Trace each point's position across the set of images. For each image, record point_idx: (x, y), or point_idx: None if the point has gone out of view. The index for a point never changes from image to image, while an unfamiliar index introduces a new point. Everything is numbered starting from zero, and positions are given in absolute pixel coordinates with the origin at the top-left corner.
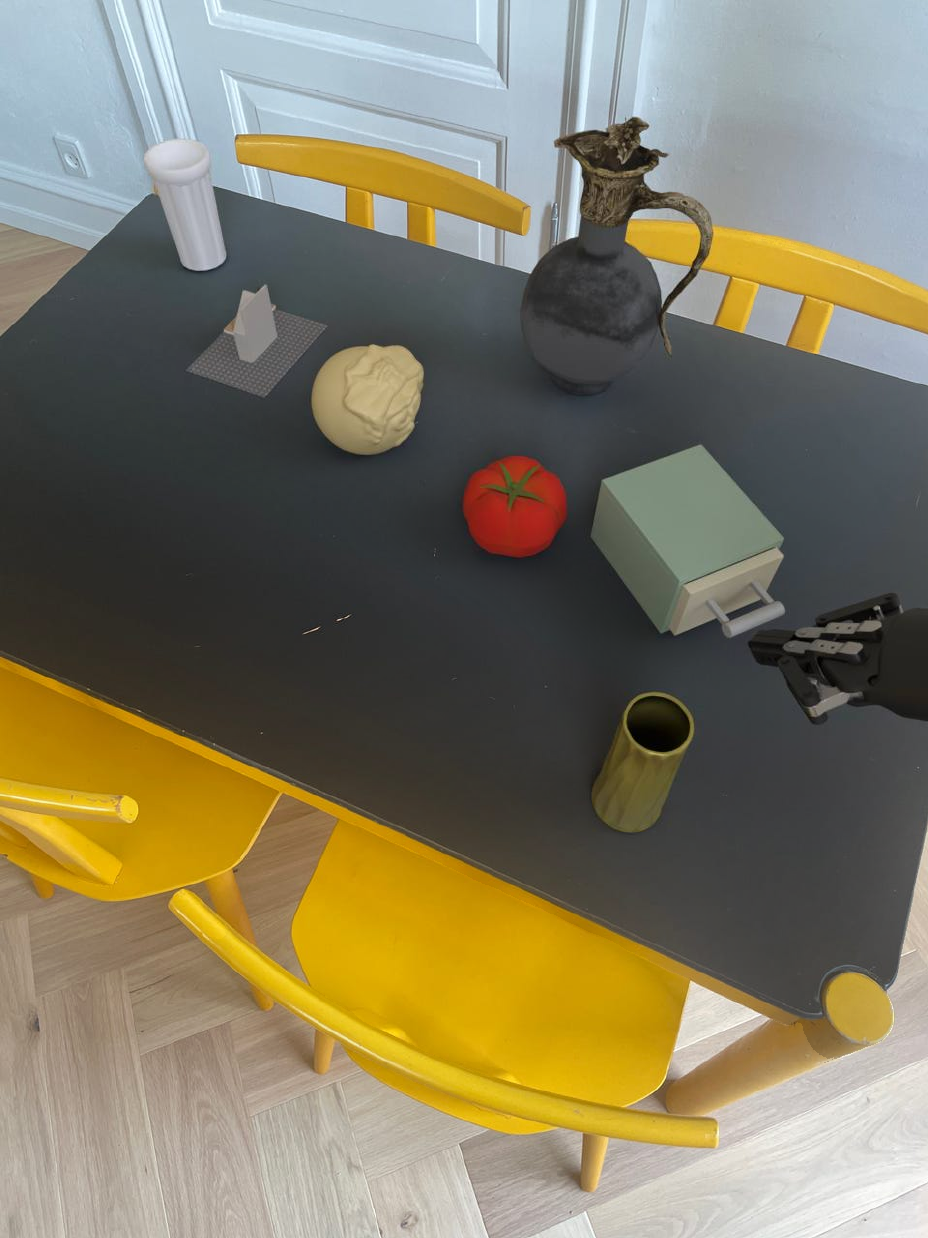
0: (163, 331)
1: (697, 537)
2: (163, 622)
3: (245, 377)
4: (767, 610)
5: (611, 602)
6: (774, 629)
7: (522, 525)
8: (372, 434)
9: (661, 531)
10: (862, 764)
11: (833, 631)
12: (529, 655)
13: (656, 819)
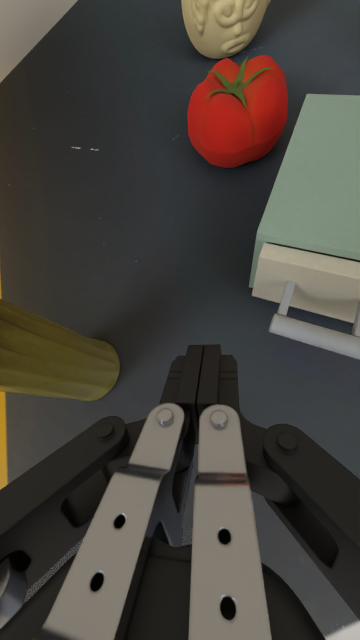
0: None
1: (337, 201)
2: (36, 109)
3: None
4: (338, 339)
5: (241, 238)
6: (236, 363)
7: (207, 119)
8: (195, 16)
9: (303, 172)
10: (285, 551)
11: (200, 528)
12: (150, 235)
13: (86, 400)
